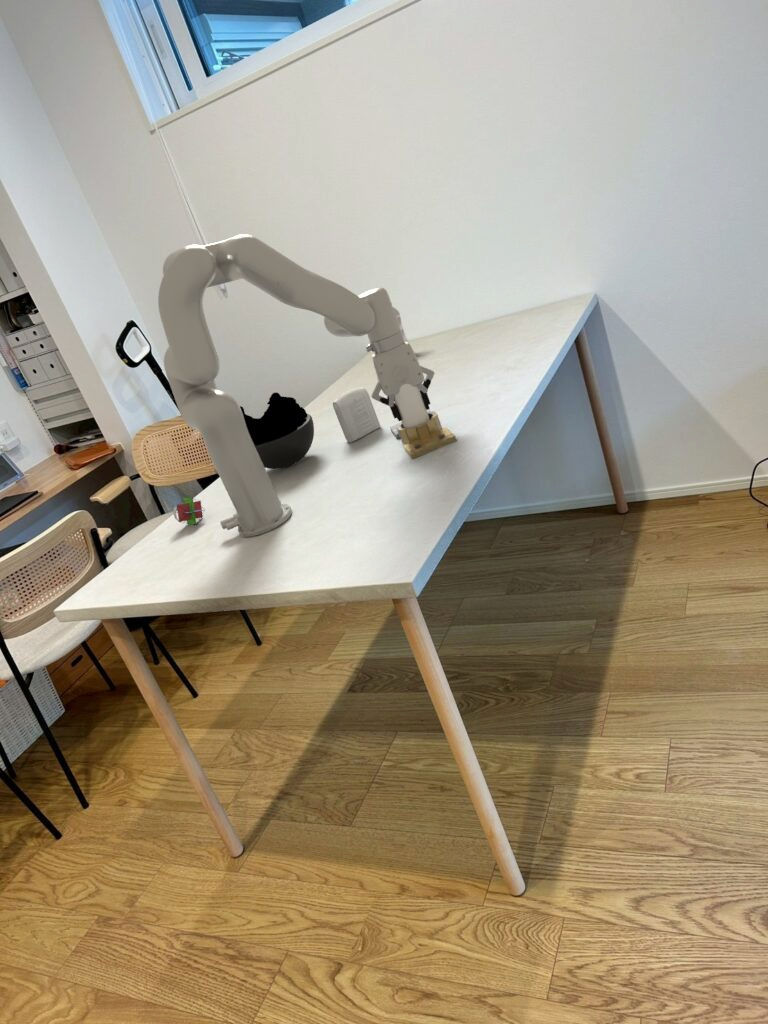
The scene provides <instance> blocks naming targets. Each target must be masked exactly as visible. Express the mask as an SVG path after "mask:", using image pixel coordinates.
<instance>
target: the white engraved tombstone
mask: <svg viewBox="0 0 768 1024" xmlns="http://www.w3.org/2000/svg"><path fill="white" fill-rule="evenodd" d="M332 407H333V410H334V412H335V416H336V418H337V420H338V423H339V425H340V428H341V430H342V433H343V436H344V438H345V440H346V441H347V443H353V442H355V441H357V440H359V439H361V438H362V437H365V436H366V435H368V434H370V433H372V432H374V431H375V430H377V429H379V428H380V427H381V423H380V421H379V419H378V416H377V413H376V410H375V407H374V405H373V403H372V398H371V396H370V394H369V392H368V390H367V389H366V388H365V387H363V386H362V387H361V386H360V387H354V388H351V389H349V390H346V391H344V392H343V393H342V394H340V395H339V396H337V397H336V399H334V401H333V402H332Z"/></svg>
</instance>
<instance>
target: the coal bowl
mask: <svg viewBox="0 0 768 1024" xmlns="http://www.w3.org/2000/svg"><path fill="white" fill-rule="evenodd" d="M268 400H269V401H268V402H267V405H268V406H267V408H266V410H265V411H264V412H263V415H262V416H260V417H258V418H257V417H255V418H254V417H253V416H250V415H249V414H246V413H245V408H244V407H243V406H241V405H239V406H240V408H241V411H242V414H243V416H244V420H245V423H246V426H247V429H248V432H249V434H250V437H251V439H252V441H253V443H254V446H255V448H256V450H257V452H258V454H259V456H260V459H261V461H262V463H263V465H264V467H265V469H270V470H281V469H287V468H290V467H292V466H294V465H296V464H297V463H299V462H300V461H301V460H302V459H303V458H304V457H305V456H306V455H307V454H308V452H309V451H310V449H311V448H312V444H313V442H314V441H313V440H314V435H315V427H314V424H315V423H314V419H313V416H312V415H311V414H309V413H307V411H306V409H305V408H304V407H302V406H300V404H299V403H298V402H297V400H296V399H295V398H294V397H291V396H282V395H280V393H279V392H272V394H271V395H270V397H269V398H268Z"/></svg>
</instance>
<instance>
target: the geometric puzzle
mask: <svg viewBox="0 0 768 1024" xmlns="http://www.w3.org/2000/svg"><path fill="white" fill-rule="evenodd" d="M172 512H173V517H174V519H175V520H176V521H177V522H179V523H182V524H184V523H185V522H186V525H187V524H188V525H187V526H197V525H198V522H200V521H201V519H203V518H204V514H205V513H204V512H206V509H205V507H204V506H202V502H201V500H199V499H196V498H195V497H182V498H181V502H179V504H176V505H174V507H173V511H172ZM202 517H203V518H202ZM200 518H201V519H200ZM191 524H193V525H191ZM194 524H195V525H194ZM184 525H185V524H184Z"/></svg>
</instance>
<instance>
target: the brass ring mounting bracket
mask: <svg viewBox="0 0 768 1024" xmlns="http://www.w3.org/2000/svg"><path fill="white" fill-rule="evenodd" d="M427 413H428V416H429V419H430V420H428V421H426V422H425V423H423V424H420V425H418V426H415V427H411V428H404V426H403V423H402V421H399V423H396V424H394V425H392V426H389V428H390V431H391V433H392V434H393V435H394V437H395V438H396V439H397V440H398V439H400V441H401V443H402V444H403V445H402V446H403V449H404V450H405V452H406V453H407V454H408V456H409V457H410V459H411V460H414V459H416V458H418V457H421V456H422V455H425V454H427V453H430V452H433V451H434V450H437V449H441V448H443V447H445V446H447V445H450V444H453V443H454V442H457V441H458V440H457V438H456V435H455V434H454V433H453V432H452V431H451V430H450V429H449V428H448V427H447V426H446V427H444V428H443V427H442V423H441V421H440V419H439V415H438V413H437V412H436V411H434V410H433V411H430V410H427ZM413 458H414V459H413Z"/></svg>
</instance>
